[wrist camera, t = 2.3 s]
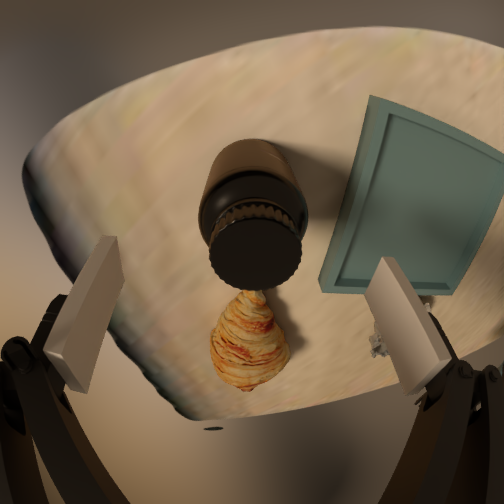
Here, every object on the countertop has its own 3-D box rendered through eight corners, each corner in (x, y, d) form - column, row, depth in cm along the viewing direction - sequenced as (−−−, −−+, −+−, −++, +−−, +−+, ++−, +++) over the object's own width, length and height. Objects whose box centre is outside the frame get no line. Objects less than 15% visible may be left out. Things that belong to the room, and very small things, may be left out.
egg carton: (380, 294, 34) (391, 318, 31) (425, 288, 34) (438, 309, 31) (362, 344, 40) (369, 366, 37) (403, 337, 41) (412, 356, 37)
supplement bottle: (297, 145, 23) (343, 211, 13) (278, 214, 27) (301, 311, 17) (216, 130, 22) (196, 186, 12) (204, 203, 26) (185, 298, 16)
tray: (503, 154, 22) (515, 161, 21) (444, 284, 34) (451, 295, 32) (369, 94, 20) (380, 98, 18) (317, 279, 32) (322, 292, 30)
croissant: (225, 258, 34) (186, 299, 28) (308, 283, 30) (281, 336, 24) (230, 361, 46) (206, 397, 40) (286, 383, 42) (266, 424, 36)
